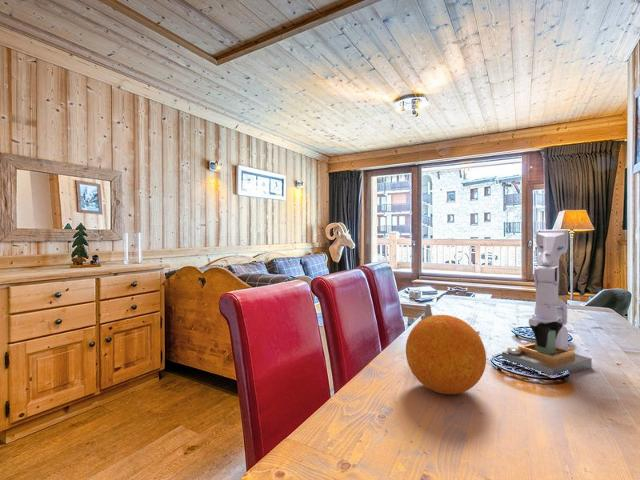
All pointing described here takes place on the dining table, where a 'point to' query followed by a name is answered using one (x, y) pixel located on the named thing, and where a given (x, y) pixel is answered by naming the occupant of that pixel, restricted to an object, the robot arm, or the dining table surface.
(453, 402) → the dining table surface
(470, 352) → the decorative sphere
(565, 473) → the dining table surface
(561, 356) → the grey framed base plate
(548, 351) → the spout tin
